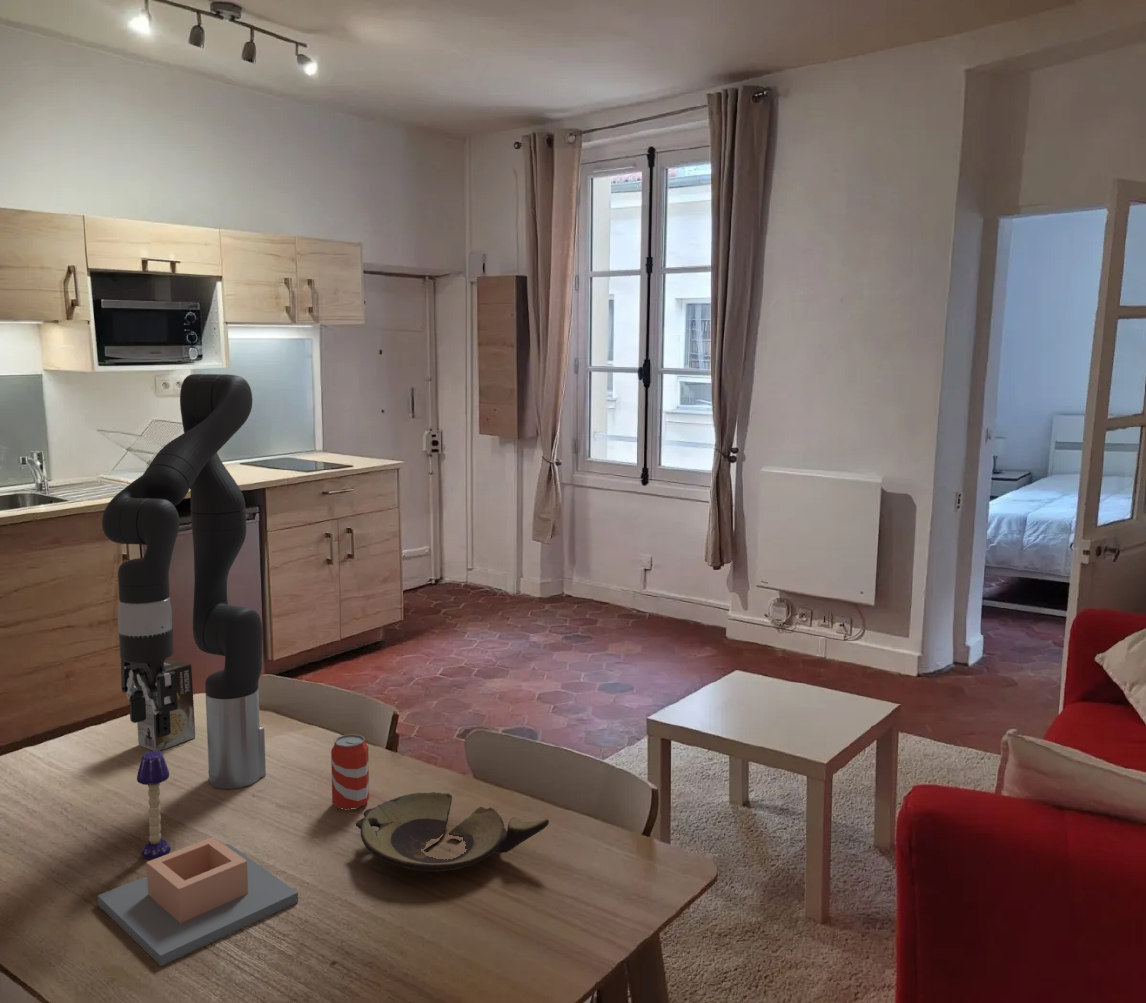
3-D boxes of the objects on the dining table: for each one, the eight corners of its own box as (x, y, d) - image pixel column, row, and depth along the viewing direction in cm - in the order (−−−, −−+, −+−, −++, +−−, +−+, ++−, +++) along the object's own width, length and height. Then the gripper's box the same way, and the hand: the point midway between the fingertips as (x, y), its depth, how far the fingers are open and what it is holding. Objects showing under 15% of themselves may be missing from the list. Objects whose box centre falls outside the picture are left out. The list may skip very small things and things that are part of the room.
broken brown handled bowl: (418, 806, 164) (417, 765, 163) (563, 852, 149) (563, 808, 148) (326, 863, 145) (325, 817, 144) (482, 922, 130) (482, 872, 129)
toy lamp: (179, 849, 148) (174, 750, 146) (157, 863, 144) (152, 762, 141) (155, 843, 150) (150, 746, 147) (133, 858, 145) (127, 757, 143)
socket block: (229, 852, 147) (227, 814, 146) (298, 902, 134) (296, 860, 133) (98, 905, 133) (95, 862, 132) (161, 966, 119) (158, 920, 118)
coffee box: (177, 731, 195) (174, 658, 193) (196, 738, 192) (193, 663, 190) (137, 745, 188) (133, 669, 185) (155, 753, 184) (151, 675, 182)
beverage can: (357, 815, 161) (356, 749, 159) (325, 808, 163) (324, 743, 161) (375, 799, 166) (374, 736, 164) (344, 794, 168) (343, 731, 167)
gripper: (191, 631, 140) (195, 734, 142) (149, 614, 149) (154, 710, 151) (141, 641, 134) (145, 748, 136) (101, 622, 143) (106, 722, 146)
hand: (150, 728), depth 144 cm, fingers open, 8 cm apart
